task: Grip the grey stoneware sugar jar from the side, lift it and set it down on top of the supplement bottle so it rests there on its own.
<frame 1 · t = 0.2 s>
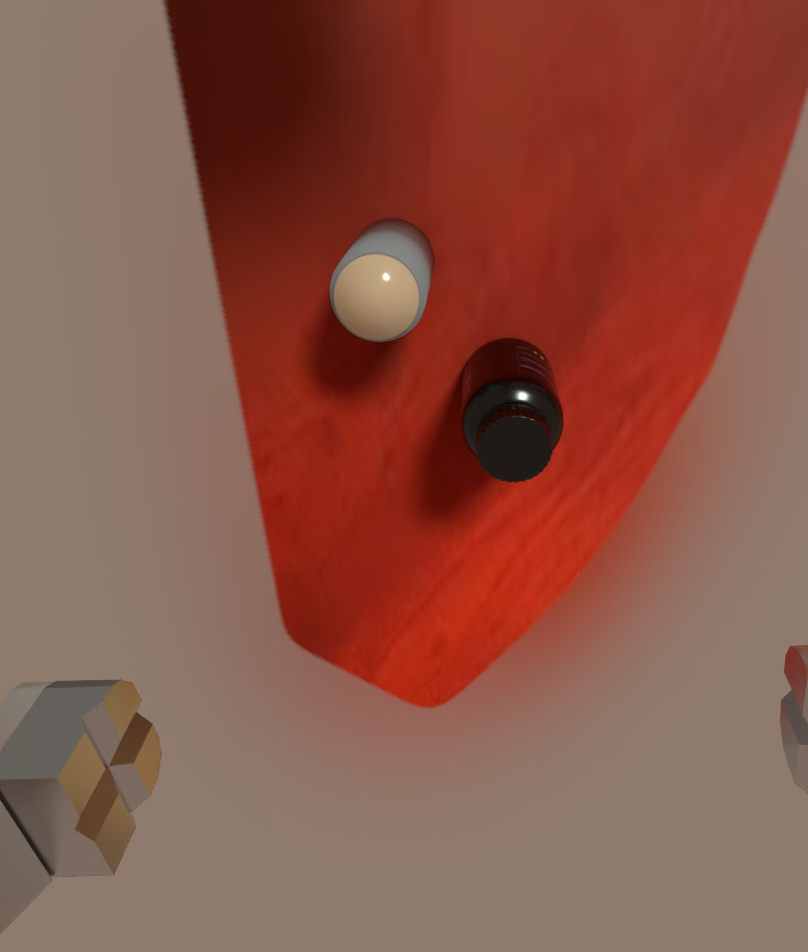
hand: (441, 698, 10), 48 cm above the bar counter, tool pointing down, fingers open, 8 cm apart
sugar jar: (392, 261, 55), on the bar counter
supplement bottle: (507, 377, 58), on the bar counter
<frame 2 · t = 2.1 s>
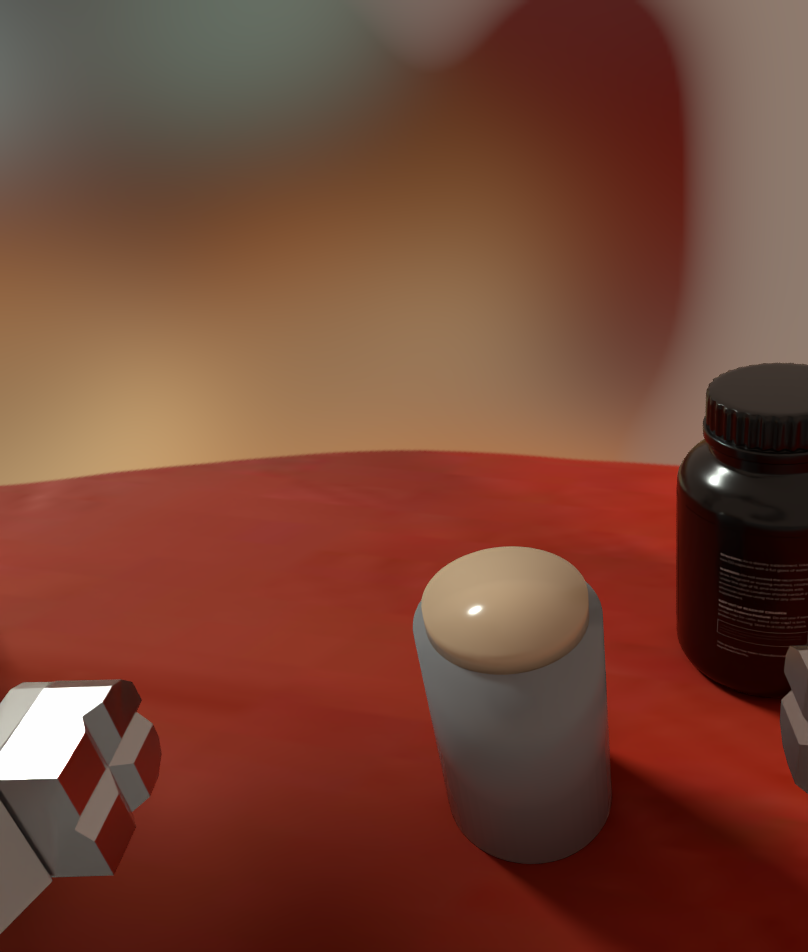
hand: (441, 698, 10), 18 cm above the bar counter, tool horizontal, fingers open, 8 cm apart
sugar jar: (528, 788, 29), on the bar counter
supplement bottle: (759, 647, 33), on the bar counter
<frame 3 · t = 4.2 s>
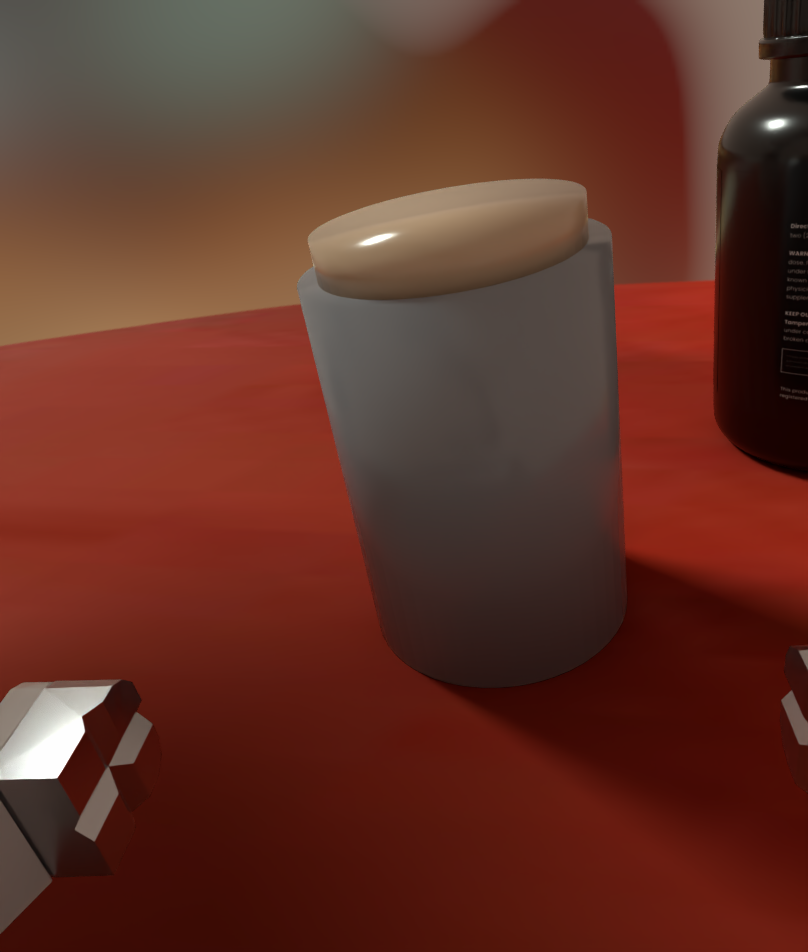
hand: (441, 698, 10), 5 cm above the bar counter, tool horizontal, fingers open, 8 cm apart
sugar jar: (499, 597, 19), on the bar counter
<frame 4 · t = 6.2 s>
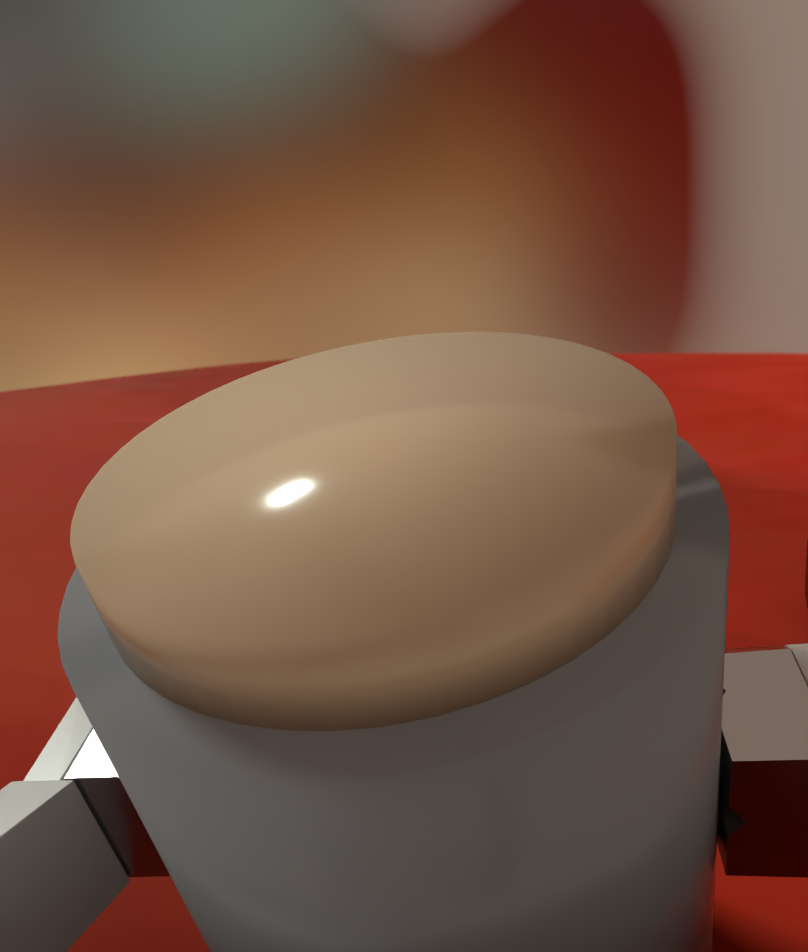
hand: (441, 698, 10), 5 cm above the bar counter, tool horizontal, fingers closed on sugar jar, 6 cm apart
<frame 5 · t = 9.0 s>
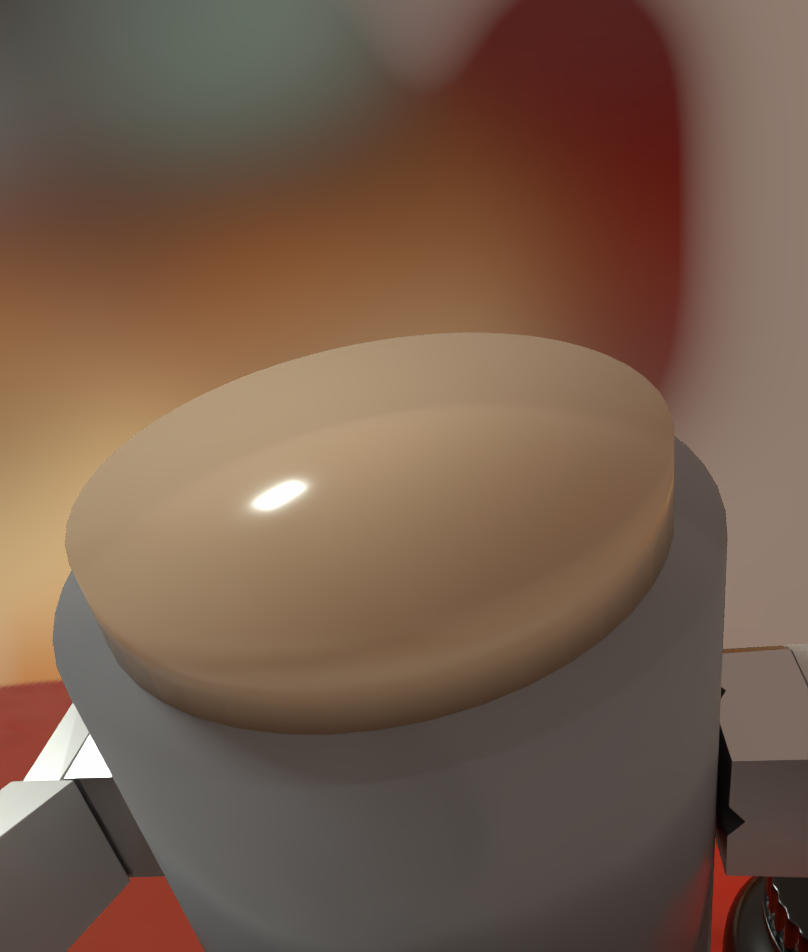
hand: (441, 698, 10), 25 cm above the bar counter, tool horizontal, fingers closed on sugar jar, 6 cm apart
when the fingers open (18 cm above the bar counter, at t = 11.7 s): sugar jar drops 1 cm, resting on supplement bottle.
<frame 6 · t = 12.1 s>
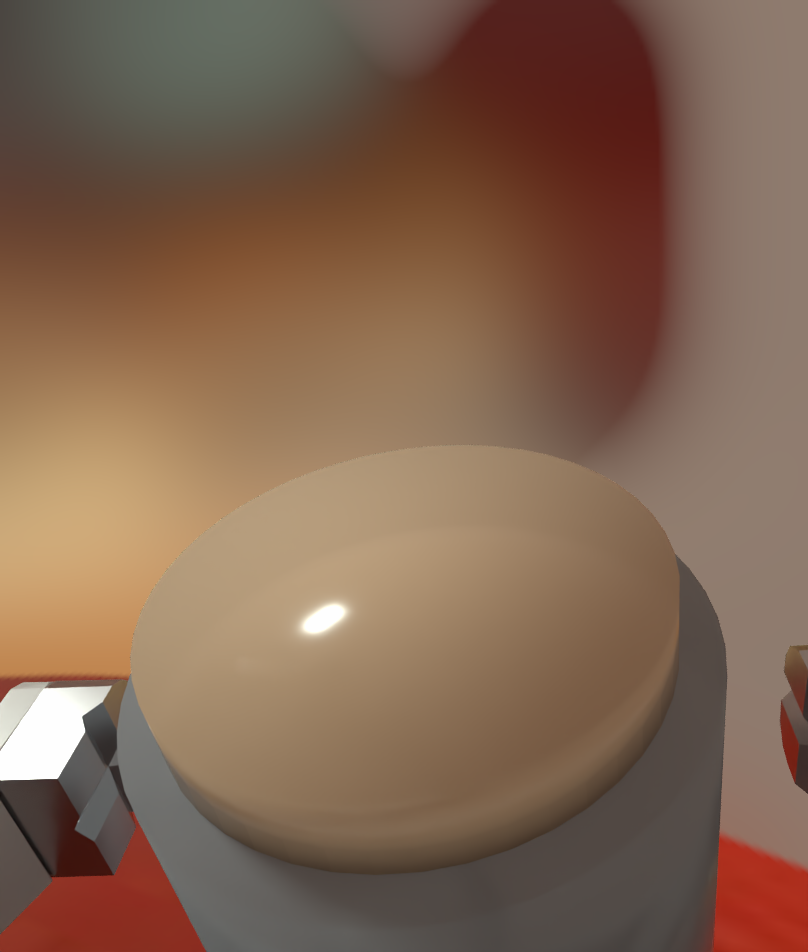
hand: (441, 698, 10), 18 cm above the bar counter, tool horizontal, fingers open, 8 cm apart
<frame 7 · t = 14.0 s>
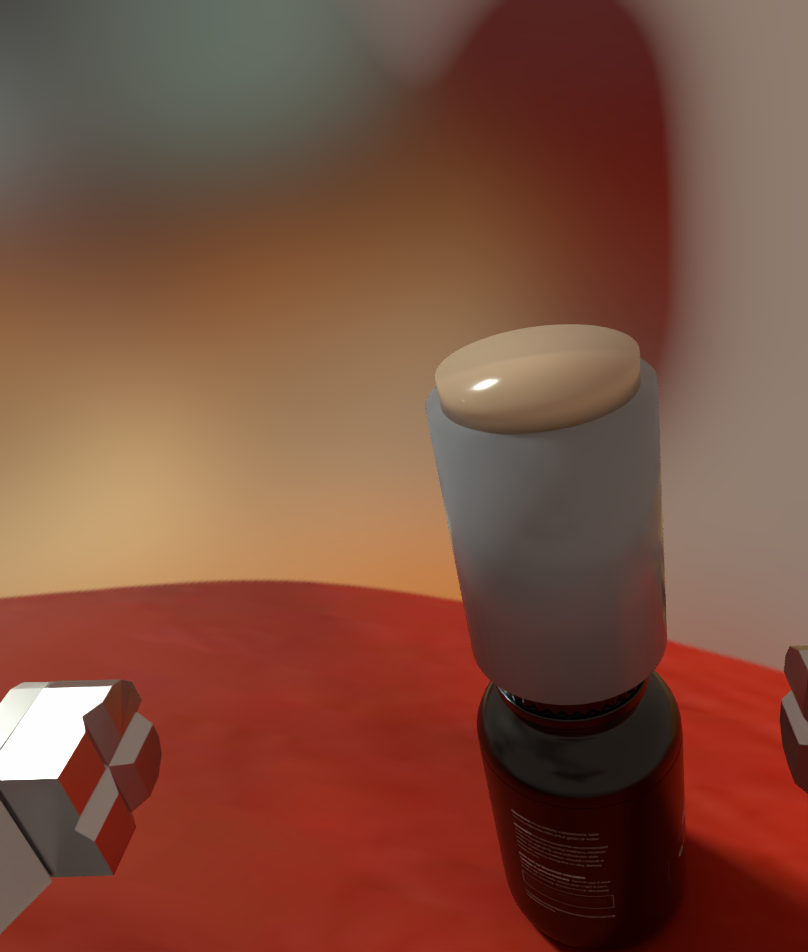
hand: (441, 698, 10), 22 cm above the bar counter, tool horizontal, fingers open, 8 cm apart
sugar jar: (566, 633, 24), point 12 cm above the bar counter, touching supplement bottle
supplement bottle: (593, 872, 30), on the bar counter, touching sugar jar
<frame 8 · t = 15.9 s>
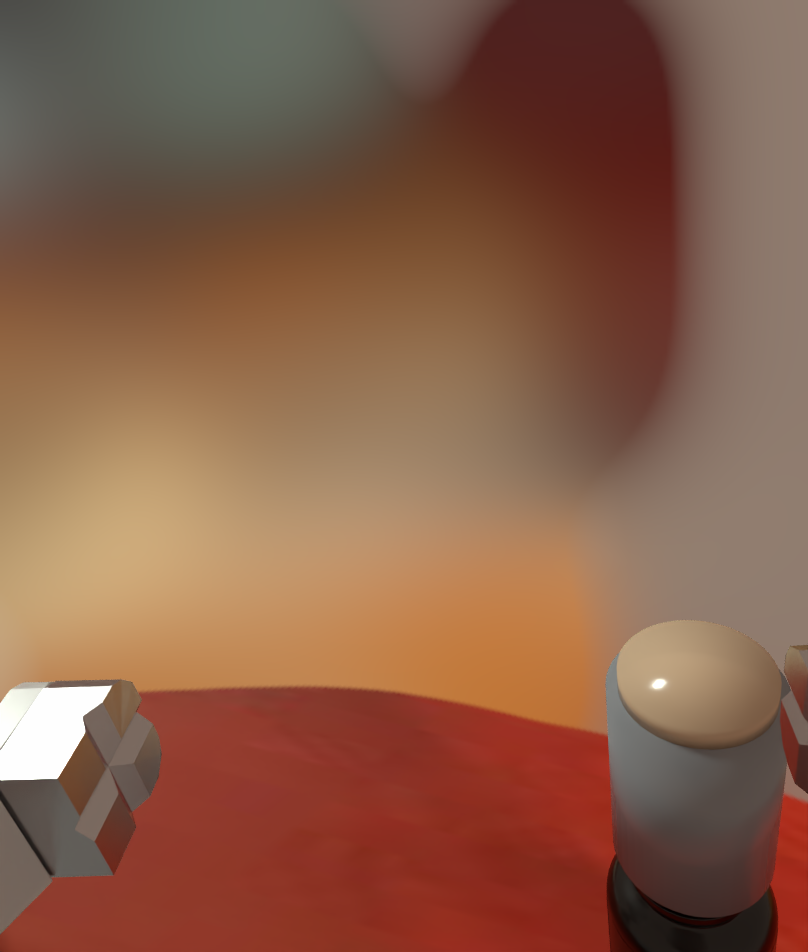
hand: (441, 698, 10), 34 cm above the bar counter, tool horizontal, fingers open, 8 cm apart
sugar jar: (691, 842, 30), point 12 cm above the bar counter, touching supplement bottle
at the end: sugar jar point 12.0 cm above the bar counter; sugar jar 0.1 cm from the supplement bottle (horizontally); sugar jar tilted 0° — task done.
